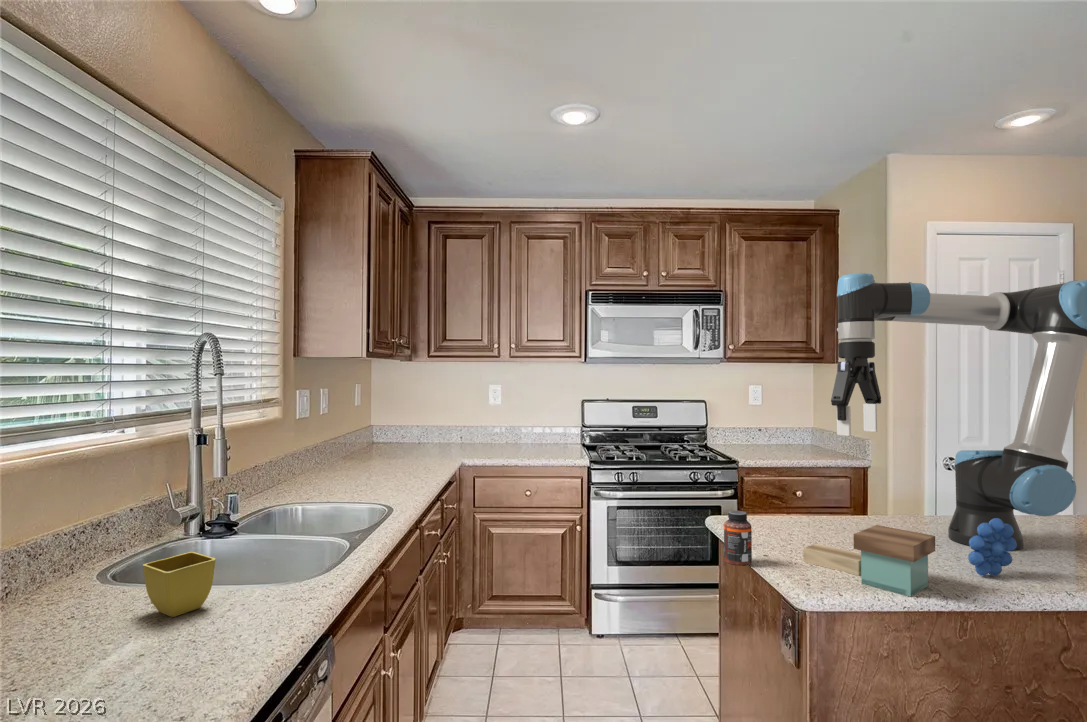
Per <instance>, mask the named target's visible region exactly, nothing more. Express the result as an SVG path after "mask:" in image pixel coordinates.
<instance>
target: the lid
mask: <svg viewBox="0 0 1087 722" xmlns="http://www.w3.org/2000/svg"><path fill="white" fill-rule="evenodd" d="M853 549H854V550H858V551H860V552H861V551H866V552H871V553H875V554H880V555H884V556H889V557H893V558H898V559H902V560H907V561H911V562H915V561H917V560H919V559H921V558H923V557H925V556H927V555H928V556H929V555H930V554H932V553H935V552H936V536H935V535H932V534H927V533H923V532H922V533H921V532H917V531H911V530H905V529H900V528H894V527H890V526H884V525H879V524H875V525H873V526H871V527H868V528H865V529H863V530H861V531H857V532H854V533H853Z"/></svg>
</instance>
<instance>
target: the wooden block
mask: <svg viewBox="0 0 1087 722" xmlns="http://www.w3.org/2000/svg"><path fill="white" fill-rule="evenodd" d="M802 550H803V552H802V554H803V557H802V558H803V563H807V564H812V565H816V566H820V567H824V568H827V569H830V568H831V570H834V569H835V570H836V571H838V570H839V572H842V571H844V572H843V573H846V572H847V573H846V574H850V573H851V575H854V574H855V576H861V552H857V551H856V552H855V551H852V550H847V549H842V548H838V547H834V546H829V545H825V544H820V543H814V544H811V545H808V546H806V547H803V548H802ZM835 570H834V571H835Z"/></svg>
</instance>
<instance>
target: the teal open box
mask: <svg viewBox="0 0 1087 722" xmlns="http://www.w3.org/2000/svg"><path fill="white" fill-rule="evenodd" d="M860 553H861V575H860V576H861V578H860V579H861V581H860V582H861V585H863V586H864V585H865V586H868V587H872V588H877V589H880V590H884V591H887V592H892V593H895V594H899V595H903V596H906V597H909V598H910V597H913V596H914V595H916V594H918V593H920V592H921V591H922V590H924V589H926V588H927V587H929V555H927V556H925V557H923V558H921V559H919V560H917V561H915V562H911V561H907V560H902V559H898V558H893V557H889V556H884V555H880V554H875V553H871V552H866V551H861V550H860Z"/></svg>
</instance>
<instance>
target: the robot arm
mask: <svg viewBox="0 0 1087 722" xmlns="http://www.w3.org/2000/svg"><path fill="white" fill-rule="evenodd" d="M836 298H837V300H836V301H837V328H836V331H837V333H838V335H837V337H838V341H841V342H839V343H838V345H837V352H838V353H837V354H838V358H839V359H844V361H838V362H837V368H836V369H837V370H836V371H837V372H836V376H835V380H834V385H833V389H832V394H831V398H830V399H831V400H830V402H831V405H832V406H835V407H836V435H837V436H846V437H847V436H848V437H849V436H852V429H851V428H852V425H851V419H852V418H851V415H852V414H851V413H852V412H851V406H850V405H849V403H850V401H851V398H852V395H853V392H854V391H855V387H856V384H857V385H858V387H859V389H860V392H861V395H862V397H863V400H864V402H865V403H863V404H862V405H863V406H862V408H863V413H862V414H863V431H864V432H872V433H873V432H874V433H877V432H878V412H877V411H878V408H877V407H878V406H877V405H880V404H882V397H881V391H880V387H879V383H878V379H877V378H878V377H877V374H876V365H875V364H876V363H875V362H874V361H868V359H873V358H875V357H876V345H875V344H876V343H875V342H874V341H873V340H875V338H876V330H875V328H876V327H875V326H876V325H875V322H877V321H878V322H879V321H880V322H898V323H899V322H900V323H901V322H902V323H904V322H905V323H919V324H922V323H923V324H937V325H939V324H940V325H941V324H942V325H943V324H944V325H961V326H981V327H984V328H986V329H987V330H988V331H996V332H997V331H998V332H999V331H1000V332H1009V333H1017V334H1018V333H1019V334H1024V335H1031V337H1032V339H1034V341H1035V342H1036V343H1037V347H1036V351H1035V354H1034V355H1035V356H1034V359H1033V362H1032V363H1033V364H1032V367H1031V371H1030V376H1029V378H1028V379H1029V381H1028V384H1027V387H1026V388H1027V389H1026V392H1025V395H1024V400H1023V403H1022V408H1021V412H1020V415H1019V419H1018V424H1017V428H1016V433H1015V436H1014V440H1013V442H1012V443H1010V444H1008V445H1007V446H1004V447H1003V450H999V449H996V450H995V449H994V450H985V449H982V450H981V449H980V450H979V449H978V450H969V449H968V450H967V449H965V450H963V449H961V450H958V452H957V453H955V458H954V460H955V461H954V464H953V466H954V469H955V472H954V473H955V510H954V513H953V515H952V518H951V520H950V523H949V526H948V528H947V529H948V530H947V531H948V533H947V535H948V537H947V538H949V539H950V540H952V541H953V542H956V543H959V544H963V545H966V546H969V540H970V539H971V538H972V537H973V536H979V534H978V533H977V527H978V526H979V525H980V524H982V523H989V521H990V520H992V519H994V518H999V519H1001V520H1002V521H1003V523H1004V524H1009V525H1011V526H1012V528H1013V530H1014V533H1013V535H1012V536H1011V537H1012V538H1014V539H1015V541H1016V543H1017V547H1016V548H1015V549H1014V550H1013V551H1015V550H1021V549H1023V548H1024V537H1023V534H1022V531H1021V529H1020V527H1019V525H1018V522H1017V519H1016V517H1015V513H1014V510H1015V511H1018V512H1020V513H1022V514H1026V515H1032V516H1039V517H1052V516H1056V515H1057V514H1059V513H1062V512H1064V511H1066V510H1067V509H1068V508H1069V507H1070V505H1071V504H1073V501H1074V499H1075V498H1076V494H1077V484H1076V481H1075V480H1074V477H1073V475H1072V474H1071V473H1070V472H1069V471H1068V465H1069V461H1068V459H1067V458H1066V456H1065V455H1064V454H1063V447H1064V443H1065V441H1066V436H1067V432H1068V427H1069V424H1070V420H1071V416H1072V411H1073V407H1074V405H1075V404H1074V403H1075V400H1076V395H1077V391H1078V387H1079V384H1080V378H1081V374H1082V371H1083V366H1084V362H1085V358H1086V355H1087V279H1084V280H1083V279H1081V280H1070V281H1067V282H1063V283H1062V282H1061V283H1057V284H1051V285H1046V286H1039V287H1034V288H1029V289H1024V290H1018V291H1010V292H1009V291H1008V292H992V293H990V294H989V295H977V294H974V295H973V294H955V293H954V294H951V293H936V292H934V293H931V292H930V290H929V288H928V286H927V285H926V284H924V283H920V282H911V281H908V282H888V283H887V282H884V283H883V282H881V283H880V282H876V281H875V277H874V275H873V274H872V273H865V272H864V273H863V272H859V273H848V274H844V275H842V276H840V277H839V278H838V281H837V291H836Z"/></svg>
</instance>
